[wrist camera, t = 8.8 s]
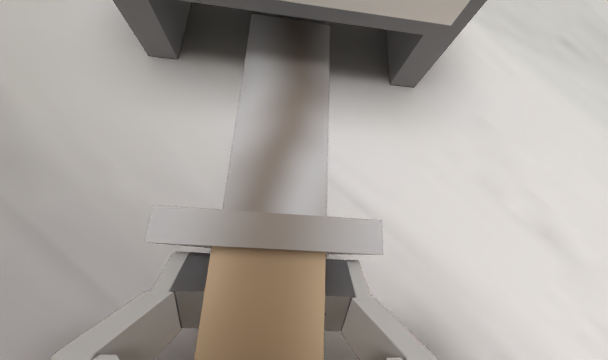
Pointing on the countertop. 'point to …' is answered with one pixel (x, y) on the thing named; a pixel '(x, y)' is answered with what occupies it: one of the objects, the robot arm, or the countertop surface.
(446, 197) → the countertop surface
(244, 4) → the cabinet
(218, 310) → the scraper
